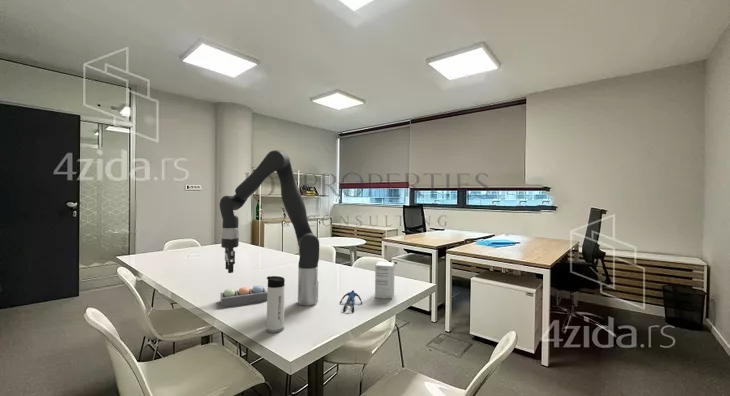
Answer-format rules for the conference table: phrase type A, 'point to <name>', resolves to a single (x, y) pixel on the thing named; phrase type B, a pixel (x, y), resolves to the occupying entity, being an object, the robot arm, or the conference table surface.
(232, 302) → the tray
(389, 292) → the supplement box
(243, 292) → the orange button
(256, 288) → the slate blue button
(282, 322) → the travel mug
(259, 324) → the conference table surface
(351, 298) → the person figurine
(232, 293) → the sage button
